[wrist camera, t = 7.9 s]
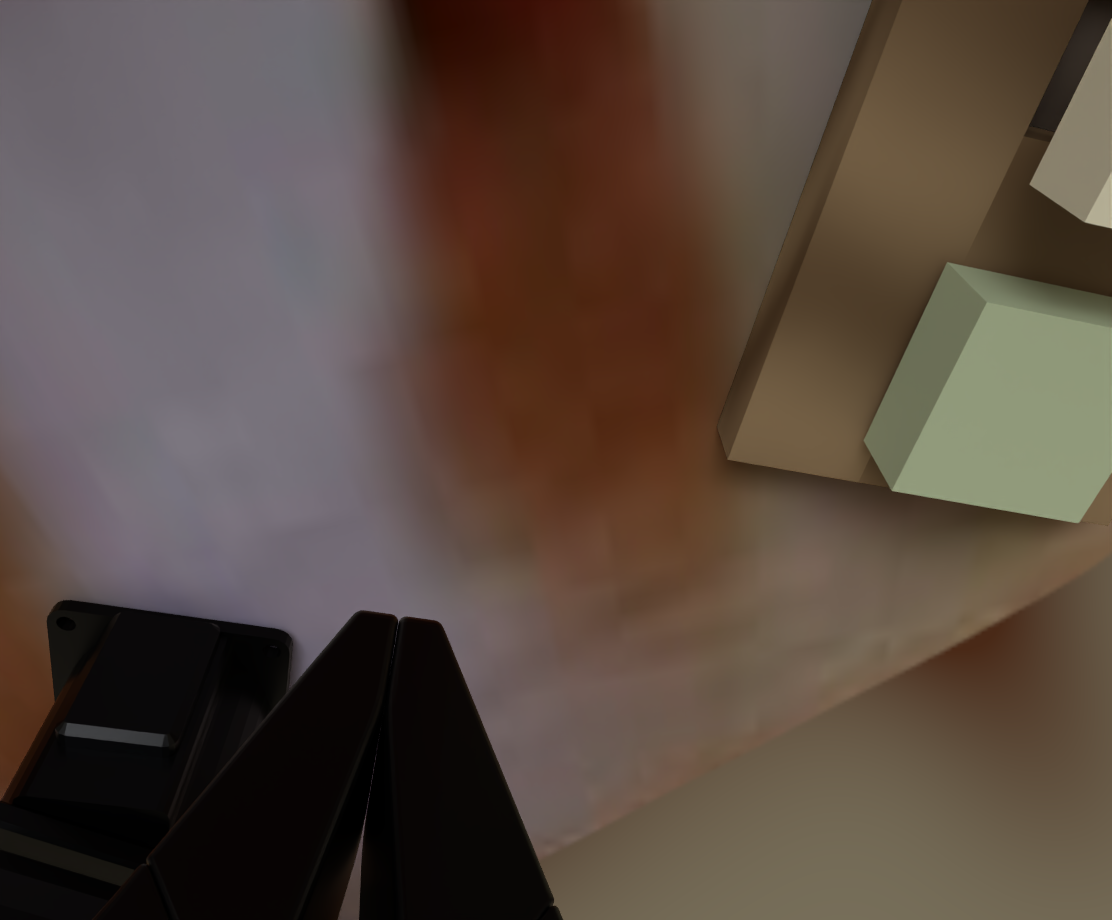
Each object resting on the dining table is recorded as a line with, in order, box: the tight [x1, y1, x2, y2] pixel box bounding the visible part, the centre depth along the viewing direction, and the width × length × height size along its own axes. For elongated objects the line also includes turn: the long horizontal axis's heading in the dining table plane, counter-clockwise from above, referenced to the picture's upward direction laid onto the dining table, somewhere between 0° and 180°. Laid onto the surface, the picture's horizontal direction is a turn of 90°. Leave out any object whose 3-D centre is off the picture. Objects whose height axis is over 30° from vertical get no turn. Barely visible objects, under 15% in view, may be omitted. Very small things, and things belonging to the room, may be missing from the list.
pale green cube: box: [864, 262, 1112, 523], centre depth 21 cm, size 4×4×4 cm
